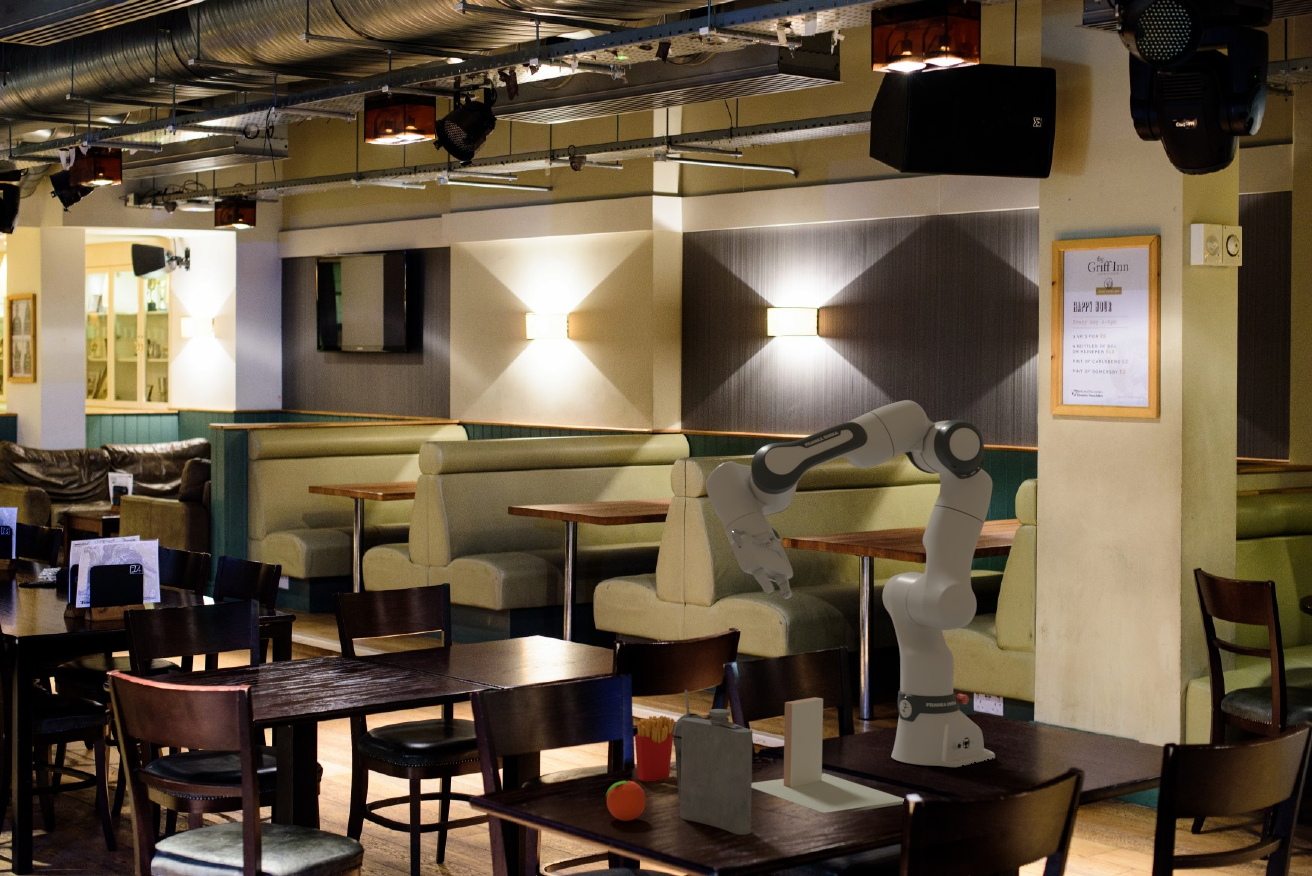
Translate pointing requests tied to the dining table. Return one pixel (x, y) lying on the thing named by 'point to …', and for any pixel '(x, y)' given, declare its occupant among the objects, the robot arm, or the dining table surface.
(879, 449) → the robot arm
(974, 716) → the dining table surface
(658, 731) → the french fries
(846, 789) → the mat
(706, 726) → the hip flask
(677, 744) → the beverage cup
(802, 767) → the tile
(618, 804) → the clementine
